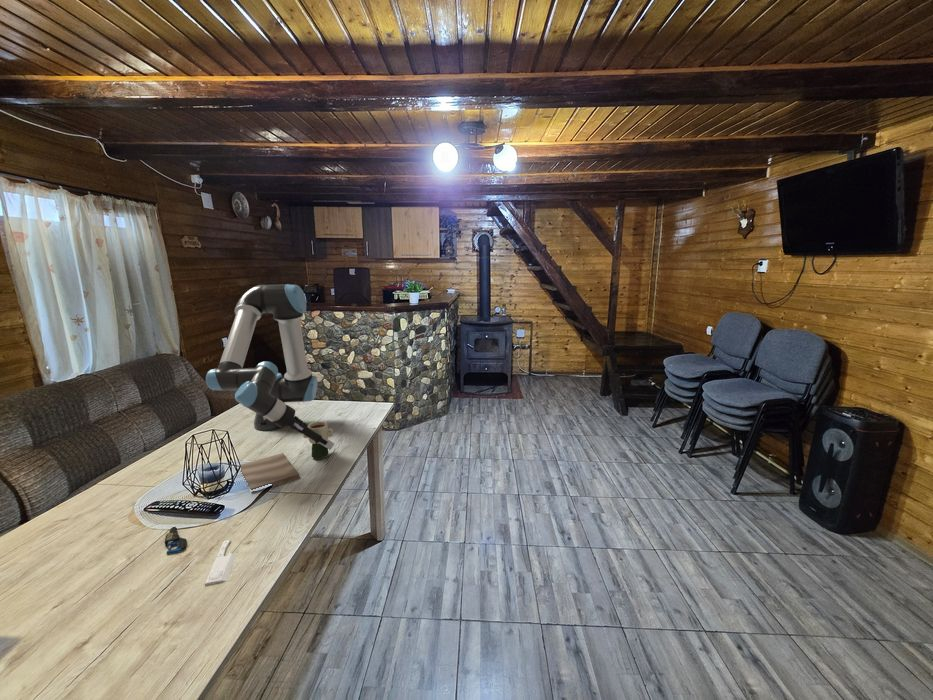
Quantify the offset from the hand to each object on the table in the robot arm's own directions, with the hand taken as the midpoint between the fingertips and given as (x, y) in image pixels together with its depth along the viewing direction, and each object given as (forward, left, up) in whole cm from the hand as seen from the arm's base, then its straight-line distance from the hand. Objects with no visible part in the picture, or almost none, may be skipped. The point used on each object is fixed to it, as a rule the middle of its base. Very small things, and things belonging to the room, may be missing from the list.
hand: (328, 443), depth 154 cm
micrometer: (+23, -50, -5) cm, 55 cm away
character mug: (0, -3, -5) cm, 6 cm away
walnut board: (+1, -22, -5) cm, 23 cm away
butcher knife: (+40, -41, -5) cm, 58 cm away
